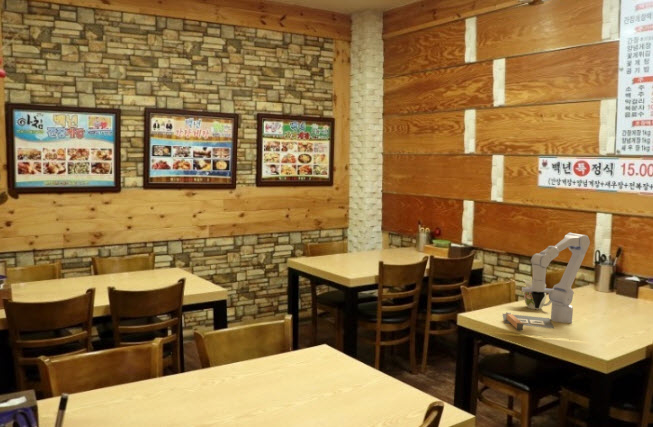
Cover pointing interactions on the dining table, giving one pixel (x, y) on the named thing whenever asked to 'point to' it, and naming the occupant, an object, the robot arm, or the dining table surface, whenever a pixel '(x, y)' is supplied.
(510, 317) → the swing bar
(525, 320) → the label
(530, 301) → the white floral mug
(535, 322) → the label
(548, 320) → the board
